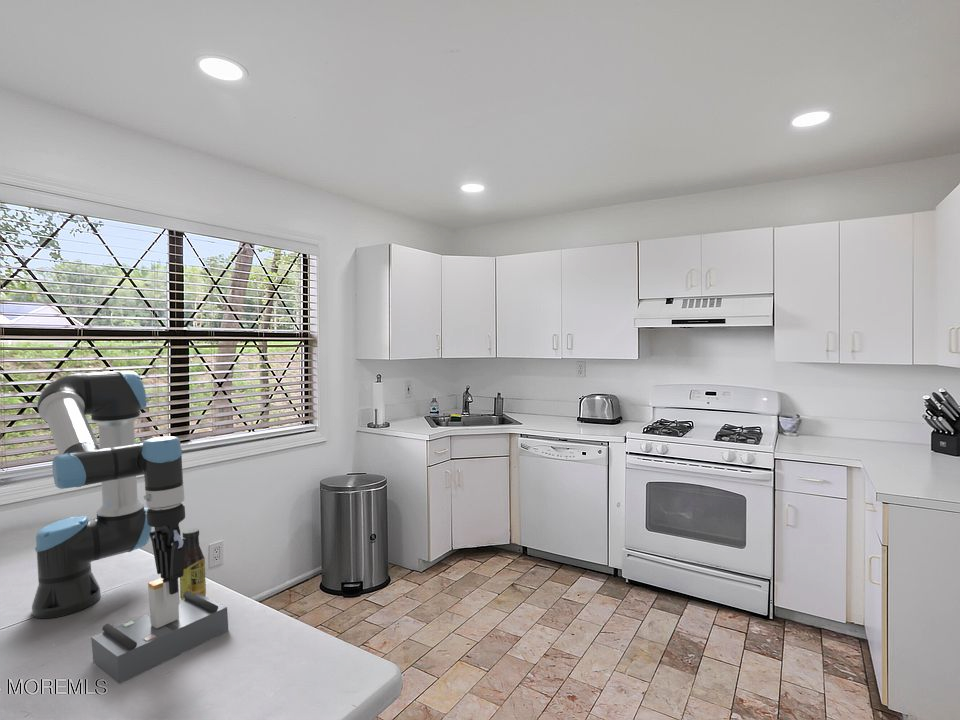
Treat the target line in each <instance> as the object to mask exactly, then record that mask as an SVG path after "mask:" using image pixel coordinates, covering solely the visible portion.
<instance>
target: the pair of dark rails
mask: <svg viewBox="0 0 960 720" xmlns="http://www.w3.org/2000/svg"><path fill="white" fill-rule="evenodd" d="M183 597H184V598H186V599H188V600H190V601H192V602H194V603H196V604H198V605H199V606H201V607H203V608H205V609H207V610H209V611H211V612H213V613H214V612H216V611H217V610H218V606H217V605H215V604H213V603H211V602H209V601H207V600H204V599H202V598H200V597H198V596H196V595H194V594H192V593H190V592H188V591H187V592H185V593H184V595H183ZM115 627H116V626H113V625H111V624H110V623H104V625H103V626H102V627H101V629H102V631H103V632H106V633H107V634H109V635H110V636H112V637H113V638H114V639H116V640H117V641H119V642H120V643H121V644H123V645H124V646H126V647H127V648H128V649H130V650H133V649H134V648H135V647H136V646H137V643H136V642H135V641H134V640H132V639H131V638H129V637H128V636H126V635H125V634H123V633H122V632H120V631H119V630H117V629H116V628H115Z"/></svg>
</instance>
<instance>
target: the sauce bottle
mask: <svg viewBox="0 0 960 720" xmlns="http://www.w3.org/2000/svg"><path fill="white" fill-rule="evenodd" d="M183 538H186V539H187V543H186V546H185V557H184V573H183V576H182V577H180V578H179V599H180V600H182V599H185V598H184V597H183V595H184V593H185V592H187V591H188V592H190V593H192V594H194V595H195V594H197V593H200V594H202V595H204V596H206V595H207V588H206V587H207V584H206V582H207V581H206V561H205V559H206V558H205V556H204V554H203V551H202V548H201V546H200V540H199V538H200V529H198V528H191V529H187V530H184V531H182V539H183ZM206 597H207V596H206Z"/></svg>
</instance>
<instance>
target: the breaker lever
mask: <svg viewBox="0 0 960 720" xmlns="http://www.w3.org/2000/svg"><path fill="white" fill-rule="evenodd" d="M147 588H148V602H149V605H148V606H149V613H150V621H151V625H152V626H153V627H155V628H159V627H161V626H164V625H166V624H168V623H170V622H173V621H175V620H177V619H179V606H178V605H177V606H174V607H172V608H170V609H166V608H164V594H163V579H162V578H161V577H160V578H157V579H155V580H152V581H149V582H147Z"/></svg>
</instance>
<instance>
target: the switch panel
mask: <svg viewBox="0 0 960 720" xmlns="http://www.w3.org/2000/svg"><path fill="white" fill-rule="evenodd" d="M195 595H196V596H198V597H200V598H202V599H204V600H207V601H209V602H211V603H213V604H215V605H217V606H218V610H217V611H216V612H214V613H213V612H211V611H209V610H207V609H205V608H203V607H201V606H199V605H198V604H196V603H194V602H192V601H190V600H188V599H186V598H185V599H182V600H181V599H179V600H180V604H179V605H178V606H179V619H177V620H175V621H173V622H170V623H168V624H166V625H164V626H161V627H159V628H155V627H153V626H152V625H151V621H150V612H149V613H146V614H144V615H141V616H139V617H137V618H134V619H132V620H129V621H127V622H125V623H122V624H119V625H117V626H114V627H115V628H116V629H117V630H119V631H120V632H122V633H123V634H125V635H126V636H128V637H129V638H131V639H132V640H134V641H135V642H136V643H137V646H136V647H135V648H134V649H133V650H130V649H128V648H127V647H126V646H124V645H123V644H121V643H120V642H119V641H117V640H116V639H114V638H113V637H112V636H110V635H109V634H107V633H106V632H104V631H103V632H100V633H97V634H95V635H93V636H90V637H91V651H92V653H91V654H92V663H93V664H94V665H95V666H96V667H97V668H99V670H101V671H103V673H105V674H106V675H108V676H109V677H110V678H111V679H112V680H113V681H115V682H116V683H117V684H118V685H120V684H122V683H125V682H126V681H129V680H131V679H133V678H134V677H137V676H139V675H141V674H143V673H145V672H147V671H149V670H150V669H153V668H155V667H157V666H159V665H161V664H163V663H165V662H167V661H169V660H171V659H174V658H176V657H177V656H180V655H182V654H184V653H185V651H186V652H187V650H188V651H190V650H192V649H194V648H196V647H198V646H200V645H202V644H204V643H206V642H208V641H210V640H212V639H215V638H216V637H219V636H220V635H223V634H224V633H227V632H229V631H228V630H229V619H228V617H229V616H228V607H227V606H226V605H224V604H222V603H220V602H219V601H215V600H214V599H212V598H210V597H207V596H204V595H202V594H200V593H197V594H195ZM226 631H227V632H226ZM193 647H194V648H193ZM191 648H192V649H191ZM189 649H190V650H189ZM183 652H184V653H183ZM181 653H182V654H181Z"/></svg>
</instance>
